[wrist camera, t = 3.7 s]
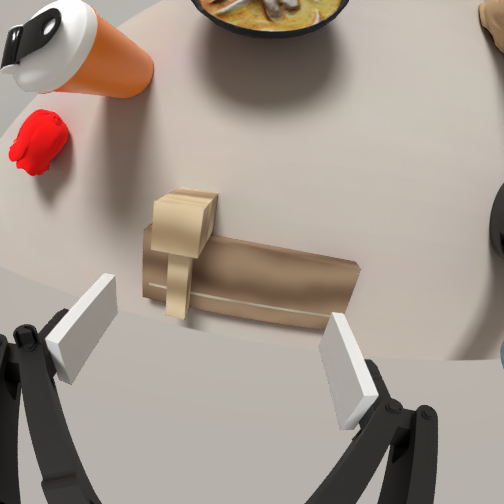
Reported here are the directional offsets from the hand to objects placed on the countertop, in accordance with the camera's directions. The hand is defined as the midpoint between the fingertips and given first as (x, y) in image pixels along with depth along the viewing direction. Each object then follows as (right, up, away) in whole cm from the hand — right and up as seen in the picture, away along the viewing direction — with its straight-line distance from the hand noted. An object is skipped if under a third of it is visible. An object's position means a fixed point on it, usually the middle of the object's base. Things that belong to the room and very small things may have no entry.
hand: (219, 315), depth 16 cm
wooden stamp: (-6, +5, +21) cm, 22 cm away
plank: (+1, 0, +22) cm, 22 cm away
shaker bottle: (-14, +27, +13) cm, 33 cm away
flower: (-27, +21, +16) cm, 38 cm away
